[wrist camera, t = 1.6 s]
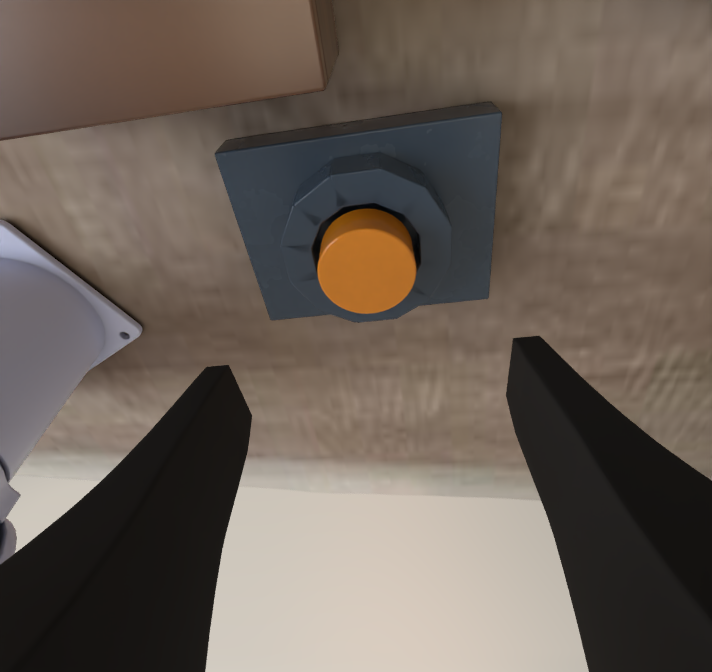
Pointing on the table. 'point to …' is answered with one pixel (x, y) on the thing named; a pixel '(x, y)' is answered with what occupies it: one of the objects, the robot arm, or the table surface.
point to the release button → (366, 261)
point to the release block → (369, 202)
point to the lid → (149, 59)
